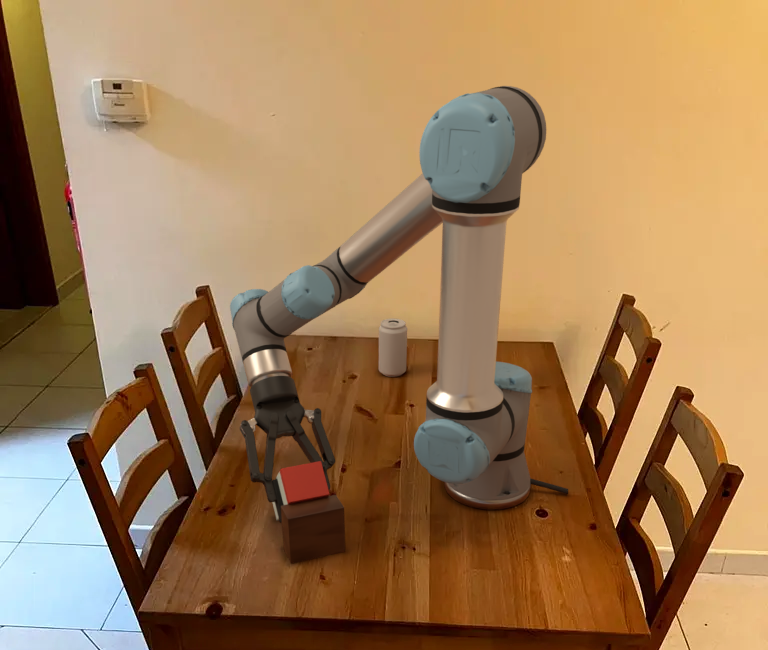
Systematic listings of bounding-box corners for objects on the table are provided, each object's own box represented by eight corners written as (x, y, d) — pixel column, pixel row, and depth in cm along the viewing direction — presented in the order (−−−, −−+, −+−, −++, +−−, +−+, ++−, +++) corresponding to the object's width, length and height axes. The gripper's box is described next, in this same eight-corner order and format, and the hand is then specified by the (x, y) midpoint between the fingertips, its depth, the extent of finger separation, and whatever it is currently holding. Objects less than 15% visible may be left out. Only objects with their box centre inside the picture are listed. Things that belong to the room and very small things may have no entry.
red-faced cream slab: (270, 508, 141) (265, 441, 134) (306, 501, 143) (303, 435, 136) (292, 550, 131) (288, 480, 124) (331, 542, 133) (329, 472, 126)
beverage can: (407, 367, 192) (408, 317, 185) (405, 378, 187) (406, 328, 180) (380, 366, 193) (380, 316, 186) (377, 377, 187) (377, 326, 181)
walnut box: (283, 549, 131) (280, 505, 126) (337, 538, 134) (335, 494, 129) (290, 563, 128) (287, 519, 123) (345, 551, 131) (344, 507, 126)
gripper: (322, 382, 142) (356, 509, 139) (211, 400, 136) (243, 533, 133) (331, 365, 135) (367, 498, 132) (214, 383, 129) (248, 522, 126)
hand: (305, 515), depth 132 cm, fingers closed on red-faced cream slab, 6 cm apart
